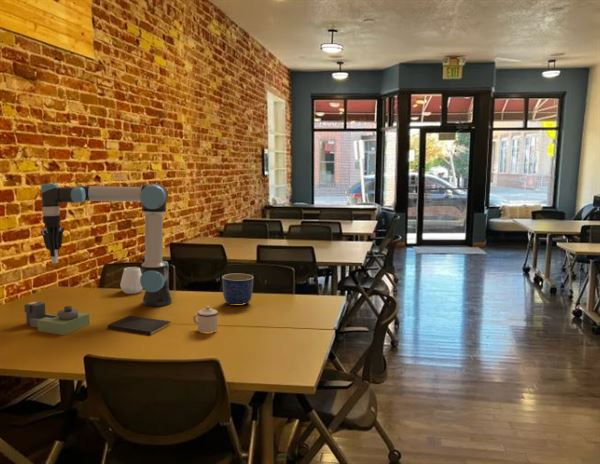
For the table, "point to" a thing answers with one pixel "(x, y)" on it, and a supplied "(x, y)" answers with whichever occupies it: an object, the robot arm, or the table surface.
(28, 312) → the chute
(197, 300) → the table surface
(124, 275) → the cup
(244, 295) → the planter
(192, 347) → the table surface
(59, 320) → the flat slab with knob
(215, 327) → the teacup with lid
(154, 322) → the hardcover book
